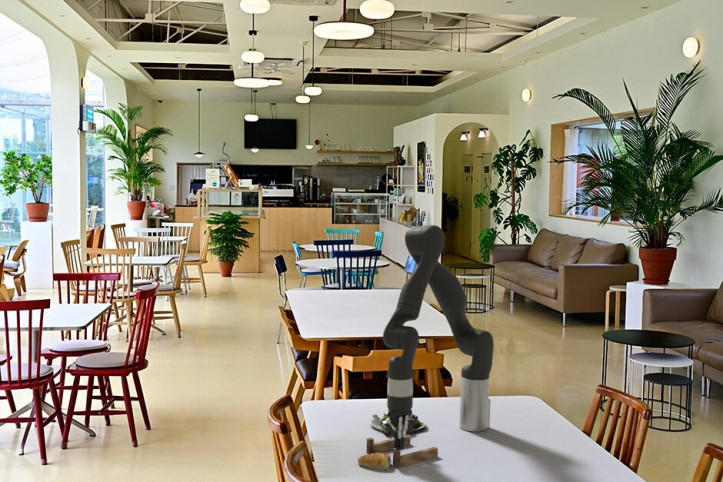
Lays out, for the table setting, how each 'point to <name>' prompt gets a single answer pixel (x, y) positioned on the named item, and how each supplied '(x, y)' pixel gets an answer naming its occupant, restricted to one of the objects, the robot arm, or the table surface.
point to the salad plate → (377, 425)
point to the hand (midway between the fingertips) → (399, 449)
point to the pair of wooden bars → (398, 459)
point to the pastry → (375, 461)
